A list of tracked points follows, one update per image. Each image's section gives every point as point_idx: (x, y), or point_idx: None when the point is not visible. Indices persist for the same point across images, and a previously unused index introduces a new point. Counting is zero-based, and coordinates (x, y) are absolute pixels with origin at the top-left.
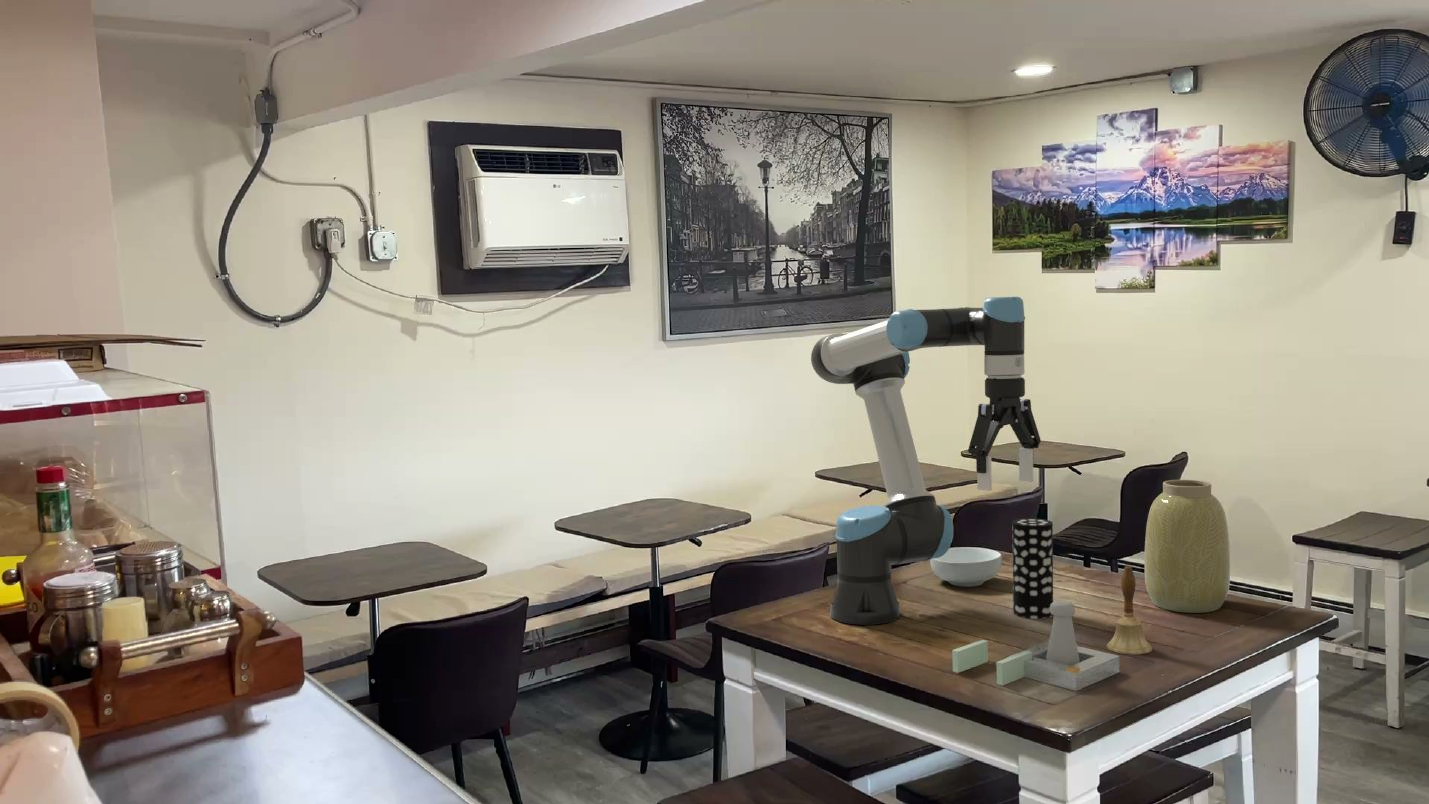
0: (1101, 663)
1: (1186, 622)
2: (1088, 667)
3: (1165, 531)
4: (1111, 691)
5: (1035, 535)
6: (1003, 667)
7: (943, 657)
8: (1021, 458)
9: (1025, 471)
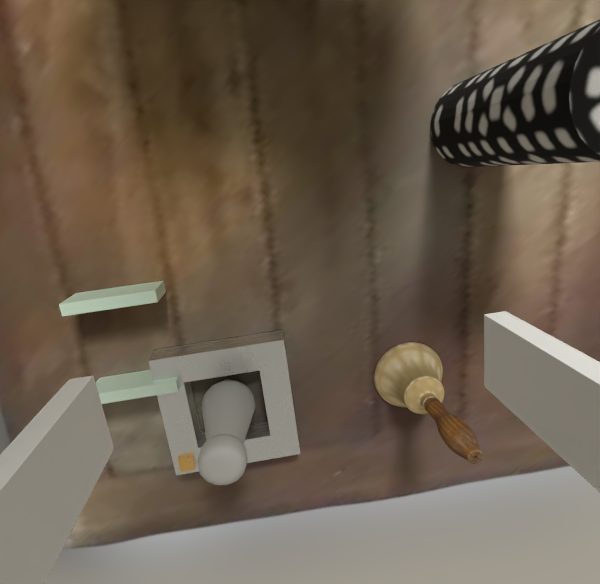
0: (248, 462)
1: (596, 338)
2: None
3: None
4: None
5: (560, 145)
6: None
7: (114, 223)
8: (581, 394)
9: (517, 380)
